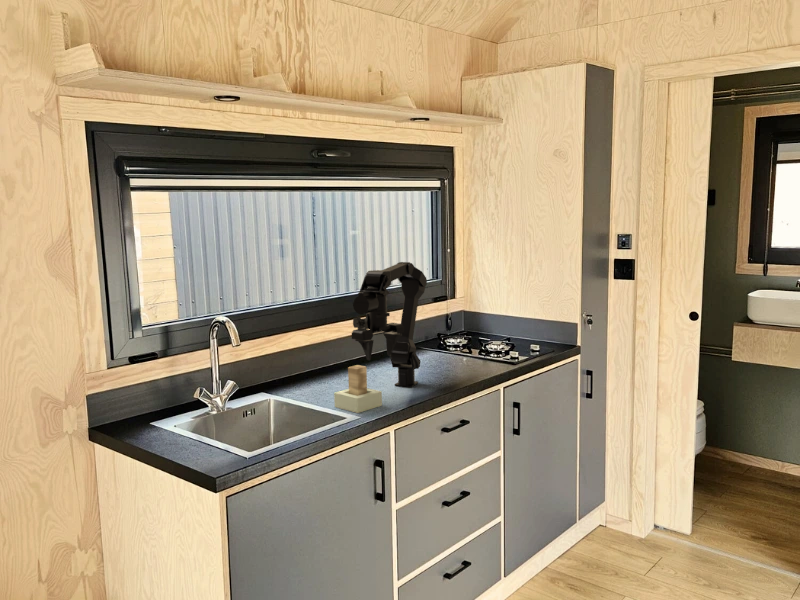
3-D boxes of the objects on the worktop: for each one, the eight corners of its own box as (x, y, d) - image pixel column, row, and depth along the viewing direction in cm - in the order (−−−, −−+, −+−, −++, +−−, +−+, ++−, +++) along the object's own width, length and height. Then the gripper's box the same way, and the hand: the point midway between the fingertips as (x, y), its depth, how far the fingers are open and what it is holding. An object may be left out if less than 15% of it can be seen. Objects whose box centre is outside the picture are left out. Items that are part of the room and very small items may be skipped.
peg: (358, 403, 225) (357, 364, 223) (367, 406, 222) (366, 366, 220) (349, 406, 222) (348, 367, 220) (358, 408, 219) (357, 369, 218)
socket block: (359, 399, 229) (358, 386, 229) (382, 405, 222) (381, 391, 222) (334, 406, 222) (334, 392, 221) (357, 413, 215) (357, 398, 214)
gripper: (380, 304, 241) (381, 350, 243) (339, 311, 227) (340, 359, 229) (404, 307, 233) (405, 354, 235) (363, 314, 220) (364, 364, 222)
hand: (379, 357), depth 231 cm, fingers open, 9 cm apart
